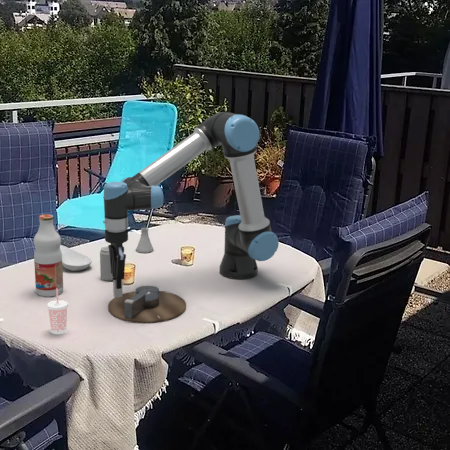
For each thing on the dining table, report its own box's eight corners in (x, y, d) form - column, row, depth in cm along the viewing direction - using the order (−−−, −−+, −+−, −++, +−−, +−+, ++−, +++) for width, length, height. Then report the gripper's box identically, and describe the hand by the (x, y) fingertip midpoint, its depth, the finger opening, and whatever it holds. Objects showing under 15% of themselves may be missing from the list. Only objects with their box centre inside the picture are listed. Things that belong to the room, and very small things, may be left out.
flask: (144, 247, 277) (144, 225, 274) (156, 250, 273) (156, 228, 270) (132, 251, 271) (132, 228, 268) (145, 254, 267) (145, 232, 264)
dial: (142, 297, 218) (142, 282, 216) (163, 301, 215) (163, 286, 214) (117, 315, 202) (116, 299, 201) (139, 320, 200) (139, 303, 198)
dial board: (170, 289, 230) (170, 285, 230) (197, 316, 207) (197, 312, 207) (99, 298, 219) (99, 295, 219) (120, 328, 196) (120, 324, 196)
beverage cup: (44, 333, 192) (42, 290, 188) (56, 325, 197) (54, 283, 193) (61, 336, 190) (59, 293, 186) (73, 328, 195) (71, 286, 191)
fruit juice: (68, 292, 223) (65, 216, 216) (44, 299, 217) (40, 220, 209) (55, 285, 230) (51, 211, 222) (31, 291, 224) (26, 215, 216)
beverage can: (114, 282, 235) (113, 251, 231) (97, 280, 236) (97, 250, 232) (120, 276, 241) (119, 246, 237) (104, 275, 242) (103, 245, 238)
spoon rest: (98, 268, 249) (97, 251, 247) (74, 276, 240) (73, 258, 238) (59, 255, 263) (59, 239, 261) (36, 262, 254) (35, 245, 252)
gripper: (100, 225, 211) (102, 291, 217) (110, 235, 199) (112, 305, 206) (122, 223, 214) (123, 288, 220) (133, 233, 202) (134, 301, 209)
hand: (117, 296), depth 213 cm, fingers closed
